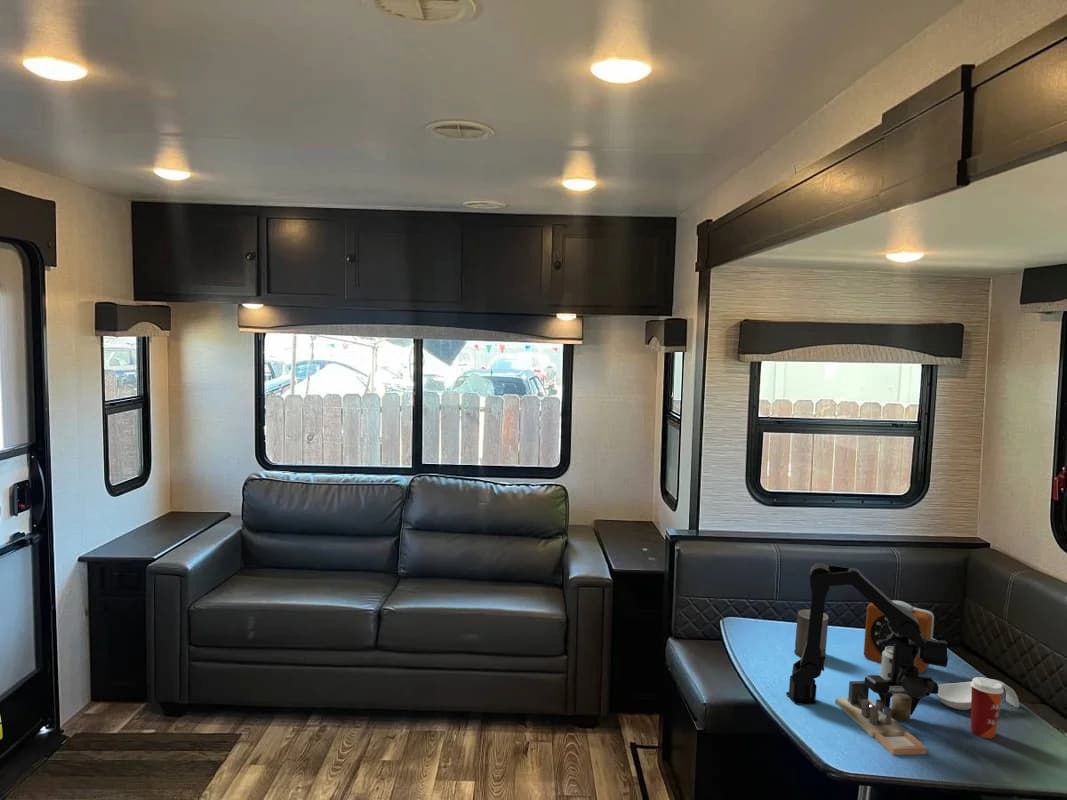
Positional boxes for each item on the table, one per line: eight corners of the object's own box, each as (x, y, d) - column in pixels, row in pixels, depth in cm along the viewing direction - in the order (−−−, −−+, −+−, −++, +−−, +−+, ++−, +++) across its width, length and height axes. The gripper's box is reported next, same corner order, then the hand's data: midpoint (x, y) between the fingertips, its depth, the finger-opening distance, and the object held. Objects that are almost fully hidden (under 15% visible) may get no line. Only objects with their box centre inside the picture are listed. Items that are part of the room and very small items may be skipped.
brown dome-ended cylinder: (897, 722, 212) (898, 701, 212) (887, 714, 217) (888, 693, 217) (913, 722, 213) (915, 701, 212) (903, 713, 218) (904, 693, 217)
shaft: (874, 724, 207) (876, 703, 207) (848, 701, 221) (849, 681, 220) (892, 724, 208) (893, 703, 207) (864, 700, 221) (866, 681, 221)
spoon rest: (950, 716, 218) (952, 691, 217) (924, 696, 230) (926, 673, 229) (1027, 714, 221) (1030, 690, 220) (998, 695, 232) (1000, 672, 232)
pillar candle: (788, 651, 259) (791, 607, 258) (810, 647, 264) (813, 604, 262) (809, 662, 251) (813, 617, 249) (832, 658, 255) (835, 614, 253)
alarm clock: (862, 658, 256) (866, 597, 254) (871, 650, 262) (875, 591, 261) (923, 675, 244) (928, 611, 242) (930, 667, 250) (935, 605, 249)
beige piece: (871, 736, 204) (872, 716, 203) (835, 702, 223) (836, 684, 222) (907, 735, 205) (908, 716, 205) (868, 702, 224) (869, 683, 223)
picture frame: (892, 754, 195) (893, 748, 195) (875, 738, 203) (875, 732, 203) (926, 754, 196) (926, 747, 196) (907, 737, 204) (908, 731, 204)
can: (910, 695, 229) (913, 655, 229) (883, 692, 231) (886, 652, 230) (903, 684, 237) (906, 646, 236) (877, 681, 238) (880, 643, 237)
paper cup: (999, 743, 203) (1003, 691, 202) (965, 734, 207) (970, 683, 206) (999, 731, 210) (1004, 681, 208) (967, 723, 214) (971, 673, 212)
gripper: (888, 671, 205) (883, 728, 206) (954, 672, 207) (948, 728, 208) (865, 654, 216) (860, 708, 217) (928, 655, 218) (923, 709, 219)
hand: (898, 714), depth 215 cm, fingers open, 6 cm apart
